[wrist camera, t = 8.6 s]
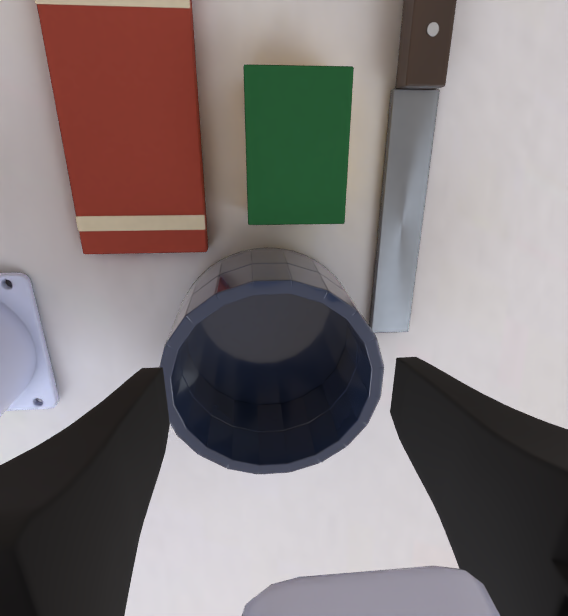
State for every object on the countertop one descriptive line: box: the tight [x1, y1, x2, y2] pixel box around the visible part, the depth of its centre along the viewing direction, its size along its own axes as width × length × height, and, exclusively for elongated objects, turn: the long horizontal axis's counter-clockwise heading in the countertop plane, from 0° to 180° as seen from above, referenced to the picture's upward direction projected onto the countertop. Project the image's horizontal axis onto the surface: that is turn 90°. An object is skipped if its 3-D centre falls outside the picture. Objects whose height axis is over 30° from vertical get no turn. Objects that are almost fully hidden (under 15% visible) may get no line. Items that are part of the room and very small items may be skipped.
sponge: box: [244, 65, 354, 225], centre depth 18 cm, size 4×6×3 cm
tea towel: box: [35, 0, 208, 254], centre depth 18 cm, size 6×12×1 cm, turn 0°
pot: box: [159, 248, 384, 474], centre depth 21 cm, size 10×10×6 cm
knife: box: [370, 0, 456, 333], centre depth 20 cm, size 2×20×2 cm, turn 0°
